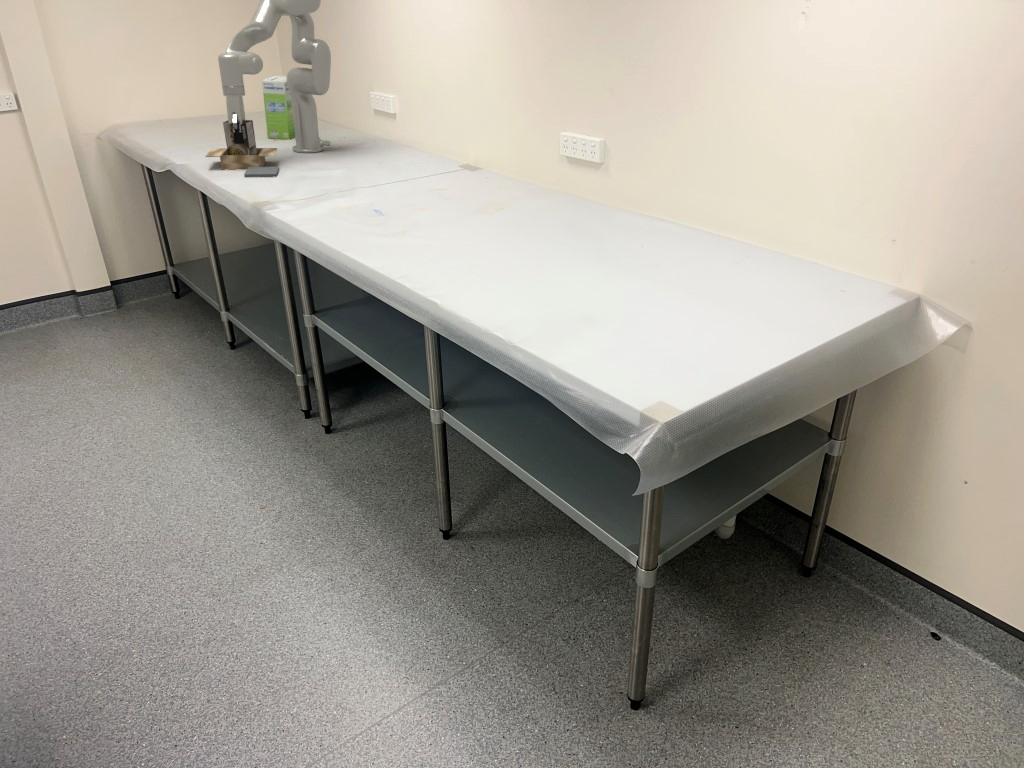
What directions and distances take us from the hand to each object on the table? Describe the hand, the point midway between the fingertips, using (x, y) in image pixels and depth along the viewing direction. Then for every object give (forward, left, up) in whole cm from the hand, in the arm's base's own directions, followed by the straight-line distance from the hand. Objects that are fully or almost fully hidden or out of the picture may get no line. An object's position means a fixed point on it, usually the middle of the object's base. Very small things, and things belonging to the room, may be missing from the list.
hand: (240, 141), depth 277 cm
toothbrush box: (-10, -60, -9) cm, 62 cm away
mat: (-8, +13, -9) cm, 18 cm away
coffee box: (0, 0, -9) cm, 9 cm away
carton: (0, 0, -9) cm, 9 cm away
